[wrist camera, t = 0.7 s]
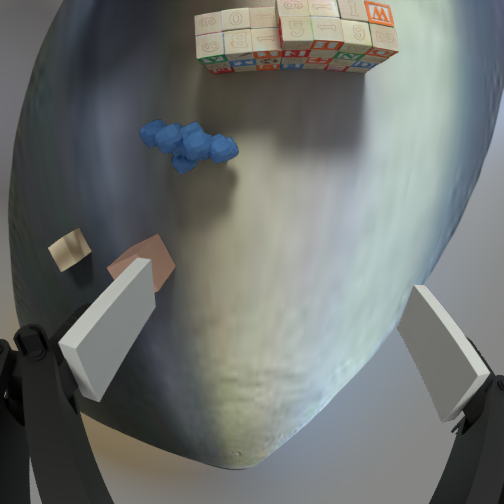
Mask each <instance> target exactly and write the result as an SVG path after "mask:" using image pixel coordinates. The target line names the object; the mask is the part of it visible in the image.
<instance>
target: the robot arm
mask: <svg viewBox="0 0 504 504" xmlns="http://www.w3.org/2000/svg"><path fill="white" fill-rule="evenodd" d="M155 307H156V304H155V295H154V286H153V275H152V264H151V259H145V258H136V259H135V260H134V261H133V262H132V263H131V264H130V265H129V266H128V267H127V268H126V269H125V270H124V271H123V272H122V273H121V274H120V275H119V276H118V277H117V278H116V280H115V281H114V282H113V283H112V284H111V285H110V286H109V287H108V288H107V289H106V290H105V291H104V292H103V293H102V294H101V295H100V296H99V297H98V298H97V299H96V301H95V302H94V303H93V304H88V303H87V304H85V305H83V306H81V307H80V308H78V309H77V310H76V311H75V312H74V313H73V314H72V315H71V317H69V318H68V319H67V320H66V322H65V323H64V324H63V325H62V326H61V327H60V328H59V329H58V330H57V331H56V333H55V334H54V335H53V336H52V337H51V338H50V339H48V337H47V334H46V332H45V329H44V328H43V327H42V326H41V325H38V324H29V325H26V326H23V327H22V328H20V329H19V330H18V331H17V332H16V333H15V336H14V338H13V339H14V341H15V344H16V346H17V348H18V350H19V351H14V350H12V349H11V347H10V345H9V343H8V342H7V341H6V340H4V339H0V504H30V503H31V502H30V485H29V484H30V483H29V459H30V458H31V463H32V467H33V472H34V476H35V480H36V484H37V487H38V491H39V495H40V498H41V501H42V504H114V502H113V500H112V498H111V496H110V494H109V492H108V490H107V487H106V485H105V483H104V480H103V478H102V476H101V473H100V471H99V469H98V466H97V463H96V461H95V458H94V455H93V452H92V450H91V447H90V444H89V441H88V438H87V435H86V431H85V428H84V425H83V421H82V418H81V414H80V410H79V406H78V402H77V398H76V396H75V394H74V392H75V391H76V389H77V387H79V389H80V391H81V393H82V395H83V396H84V397H87V398H89V399H92V400H95V401H97V402H100V400H101V398H102V396H103V395H104V393H105V391H106V389H107V387H108V386H109V384H110V382H111V380H112V379H113V377H114V375H115V373H116V372H117V370H118V368H119V366H120V365H121V363H122V361H123V360H124V358H125V356H126V355H127V353H128V351H129V350H130V348H131V346H132V345H133V343H134V341H135V340H136V338H137V336H138V335H139V333H140V331H141V330H142V328H143V326H144V325H145V323H146V322H147V320H148V318H149V317H150V315H151V314H152V312H153V310H154V309H155ZM397 329H398V331H399V333H400V335H401V336H402V338H403V340H404V342H405V344H406V346H407V348H408V350H409V352H410V354H411V356H412V358H413V360H414V362H415V364H416V366H417V368H418V370H419V372H420V374H421V376H422V379H423V381H424V383H425V385H426V387H427V389H428V392H429V394H430V396H431V398H432V401H433V403H434V405H435V408H436V410H437V412H438V415H439V417H440V419H441V422H447V421H450V420H454V419H455V418H456V417H457V416H458V415H459V414H460V412H461V411H462V410H463V412H464V414H465V416H464V417H463V418H462V419H461V420H460V422H459V423H458V424H457V425H456V426H455V427H454V428H453V429H452V431H451V432H452V433H453V432H454V431H455V430H456V429H457V428H458V432H457V433H456V434H457V435H456V438H455V441H454V445H453V448H452V450H451V453H450V456H449V459H448V462H447V464H446V467H445V469H444V472H443V474H442V477H441V479H440V481H439V483H438V486H437V488H436V490H435V492H434V494H433V496H432V499H431V501H430V503H429V504H504V376H503V375H497V376H495V374H494V373H493V371H492V370H491V368H490V367H489V365H488V364H487V362H486V361H485V359H484V358H483V356H481V354H480V352H479V351H478V350H477V348H476V346H475V345H474V344H473V342H472V341H471V340H470V339H468V338H467V337H466V336H465V335H464V334H463V333H462V331H461V330H460V329H459V327H458V326H457V325H456V324H455V322H454V321H453V319H452V318H451V317H450V316H449V314H448V313H447V312H446V311H445V309H444V308H443V307H442V306H441V304H440V303H439V302H438V301H437V299H436V298H435V297H434V296H433V295H432V294H431V292H430V291H429V290H428V289H427V288H426V286H423V285H413V288H412V291H411V294H410V297H409V299H408V302H407V305H406V307H405V310H404V312H403V315H402V317H401V320H400V322H399V325H398V327H397ZM5 392H6V395H5V398H4V394H5Z"/></svg>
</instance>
